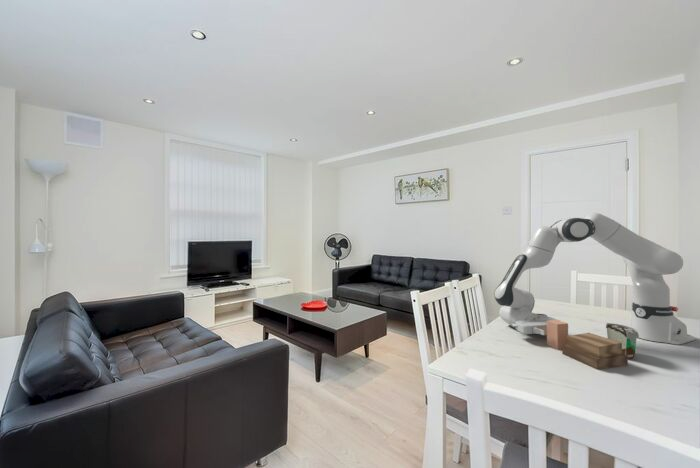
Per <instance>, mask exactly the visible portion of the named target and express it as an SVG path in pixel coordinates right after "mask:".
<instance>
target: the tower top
mask: <svg viewBox="0 0 700 468" xmlns="http://www.w3.org/2000/svg"><path fill="white" fill-rule="evenodd" d="M567 347H570V348H572V349H575V350H578V351H580V352H583V353H586V354H589V355H591V356H594V357H597V358H599V359H600V358H605V357H610V356H615V355H620V354H622V343H621V342H618V341H614V340H611V339H608V337H605V336H601V335H597V334H594V333H591V332H586V333H585V332H584V333H579V334H573V335H568V336H567Z"/></svg>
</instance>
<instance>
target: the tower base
mask: <svg viewBox="0 0 700 468" xmlns="http://www.w3.org/2000/svg"><path fill="white" fill-rule="evenodd" d="M561 350H562V355H564V356H566V357H568V358H570V359H572V360H575V361H577V362H579V363H582V364H583V365H586V366H588V367H590V368H592V369H595V370H605V369H611V368H612V369H613V368H618V367H619V368H620V367H627V366H629V359H628V356H627V355H624V354H620V355H615V356H610V357H605V358H600V359H599V358H597V357H594V356H591V355H589V354H586V353H583V352H580V351H578V350H575V349H572V348H570V347H567V345H562V349H561Z"/></svg>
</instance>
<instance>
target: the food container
mask: <svg viewBox="0 0 700 468" xmlns="http://www.w3.org/2000/svg"><path fill="white" fill-rule="evenodd" d="M605 329H606V334H607V336H606V338H608V339H611V340H614V341H618V342H621V343H622V354H624V355H627V356H628V360H633V359H635V355H636V348H637V347H636V346H637V339H640V338H639V335H638V332H637V330H636V329H634V328H631V327H629V326H628V325H623V324H619V323H610V322H607V323H606V324H605Z"/></svg>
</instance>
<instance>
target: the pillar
mask: <svg viewBox="0 0 700 468" xmlns="http://www.w3.org/2000/svg"><path fill="white" fill-rule="evenodd" d="M559 320H560V319H557V320H548V321H547V335H546V345H547V346H548V347H551V348H553V349H555V350H562V345H567V336H569V323H568V322H565V321H562V320H560V321H559Z"/></svg>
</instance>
